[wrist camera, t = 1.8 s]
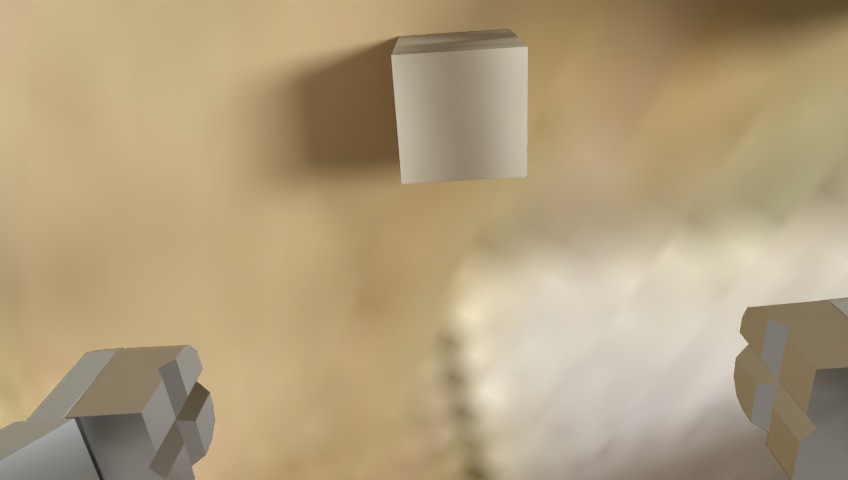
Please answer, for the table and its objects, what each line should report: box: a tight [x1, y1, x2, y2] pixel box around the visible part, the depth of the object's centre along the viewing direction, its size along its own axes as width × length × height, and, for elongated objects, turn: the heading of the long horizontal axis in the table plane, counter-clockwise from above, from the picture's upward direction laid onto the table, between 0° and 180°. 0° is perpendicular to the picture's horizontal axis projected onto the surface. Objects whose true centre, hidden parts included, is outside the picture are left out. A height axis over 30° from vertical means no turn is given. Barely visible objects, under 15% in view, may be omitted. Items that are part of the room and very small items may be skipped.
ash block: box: [391, 29, 528, 184], centre depth 26 cm, size 5×5×6 cm
